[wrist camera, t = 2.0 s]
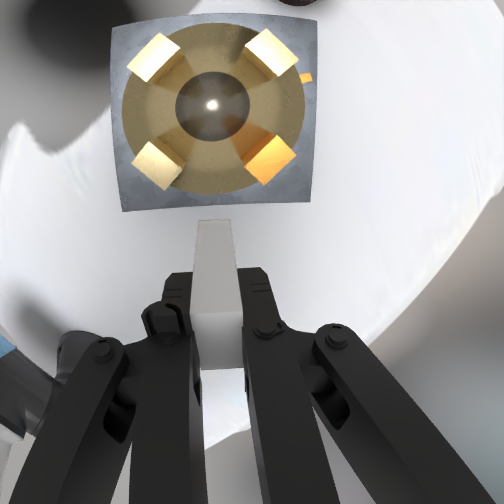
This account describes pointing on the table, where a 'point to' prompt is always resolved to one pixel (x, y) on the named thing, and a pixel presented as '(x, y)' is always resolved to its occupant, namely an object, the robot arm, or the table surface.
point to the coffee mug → (297, 2)
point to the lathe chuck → (213, 108)
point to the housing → (274, 191)
